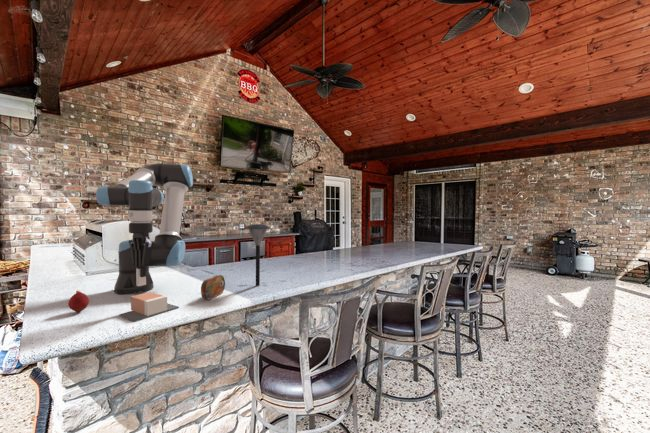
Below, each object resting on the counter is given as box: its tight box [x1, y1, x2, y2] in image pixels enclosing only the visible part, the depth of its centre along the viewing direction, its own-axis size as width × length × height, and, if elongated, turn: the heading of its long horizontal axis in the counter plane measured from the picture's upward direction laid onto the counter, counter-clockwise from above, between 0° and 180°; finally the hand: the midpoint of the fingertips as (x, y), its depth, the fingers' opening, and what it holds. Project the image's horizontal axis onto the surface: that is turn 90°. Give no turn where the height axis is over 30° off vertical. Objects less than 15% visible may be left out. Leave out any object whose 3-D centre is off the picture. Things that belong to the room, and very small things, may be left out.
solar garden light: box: [244, 223, 271, 287], centre depth 147 cm, size 12×12×30 cm
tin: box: [200, 274, 226, 300], centre depth 129 cm, size 15×3×8 cm, turn 168°
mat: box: [118, 302, 180, 322], centre depth 110 cm, size 10×16×1 cm, turn 149°
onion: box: [68, 290, 90, 314], centre depth 108 cm, size 6×6×8 cm
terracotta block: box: [130, 291, 168, 316], centre depth 110 cm, size 5×7×11 cm
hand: (141, 285), depth 112 cm, fingers closed
